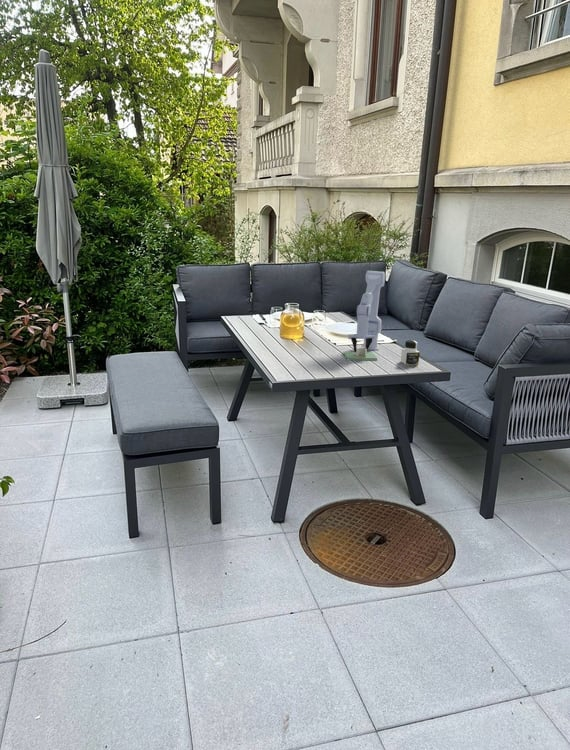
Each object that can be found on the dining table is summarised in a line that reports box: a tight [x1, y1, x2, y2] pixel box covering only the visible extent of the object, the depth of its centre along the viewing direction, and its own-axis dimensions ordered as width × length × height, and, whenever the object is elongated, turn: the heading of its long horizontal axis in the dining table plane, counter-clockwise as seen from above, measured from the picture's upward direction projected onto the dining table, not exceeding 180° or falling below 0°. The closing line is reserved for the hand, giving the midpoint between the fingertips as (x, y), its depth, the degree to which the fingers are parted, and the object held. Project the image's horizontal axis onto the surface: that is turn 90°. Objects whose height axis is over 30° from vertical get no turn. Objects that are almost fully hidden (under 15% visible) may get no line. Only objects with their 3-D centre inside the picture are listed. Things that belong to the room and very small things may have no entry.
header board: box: [342, 350, 378, 361], centre depth 304 cm, size 12×16×4 cm
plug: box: [355, 346, 367, 356], centre depth 303 cm, size 5×6×4 cm
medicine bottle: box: [400, 339, 421, 366], centre depth 295 cm, size 7×7×12 cm
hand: (360, 351), depth 303 cm, fingers closed on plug, 5 cm apart
